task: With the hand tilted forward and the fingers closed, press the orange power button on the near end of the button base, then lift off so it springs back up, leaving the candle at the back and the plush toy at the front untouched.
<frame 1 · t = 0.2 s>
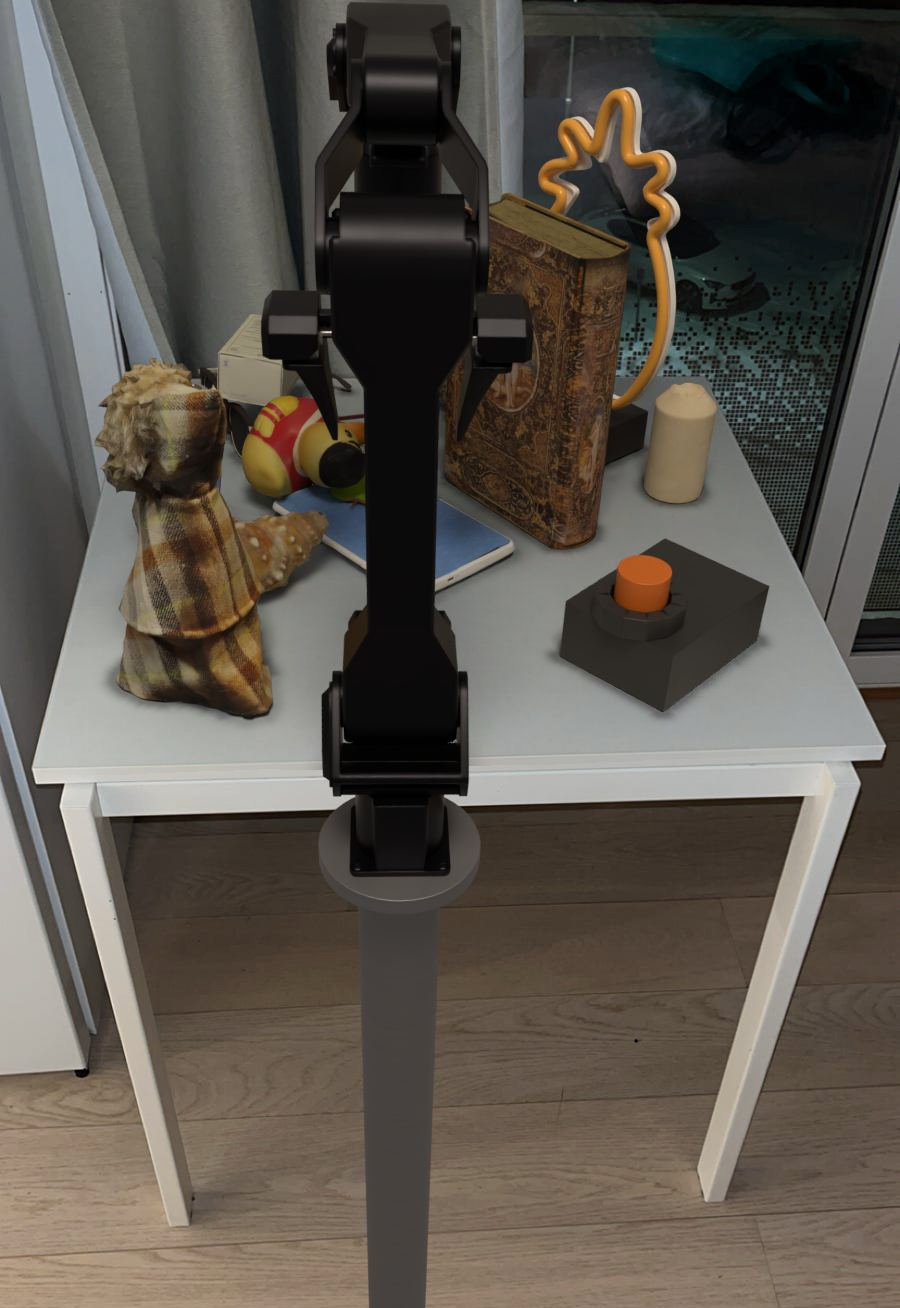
hand: (397, 438, 96), 15 cm above the table, tool pointing down, fingers open, 9 cm apart
fossil: (486, 351, 137), point 3 cm above the table
lamp: (580, 445, 127), on the table
power button: (642, 584, 95), point 8 cm above the table, slide at 0.1 cm
sunglasses: (301, 427, 129), on the table, touching cosmetic box
seashell: (258, 580, 108), on the table, touching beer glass
button base: (659, 648, 102), on the table
tablet: (391, 535, 114), on the table, touching decorative leaf, toy
toy: (276, 438, 117), point 5 cm above the table, touching decorative leaf, tablet
plush toy: (193, 675, 98), on the table
book: (522, 508, 118), on the table
decorative leaf: (370, 463, 114), point 4 cm above the table, touching tablet, toy
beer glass: (191, 563, 109), on the table, touching seashell
cosmetic box: (281, 338, 128), point 7 cm above the table, touching sunglasses
candle: (671, 491, 122), on the table
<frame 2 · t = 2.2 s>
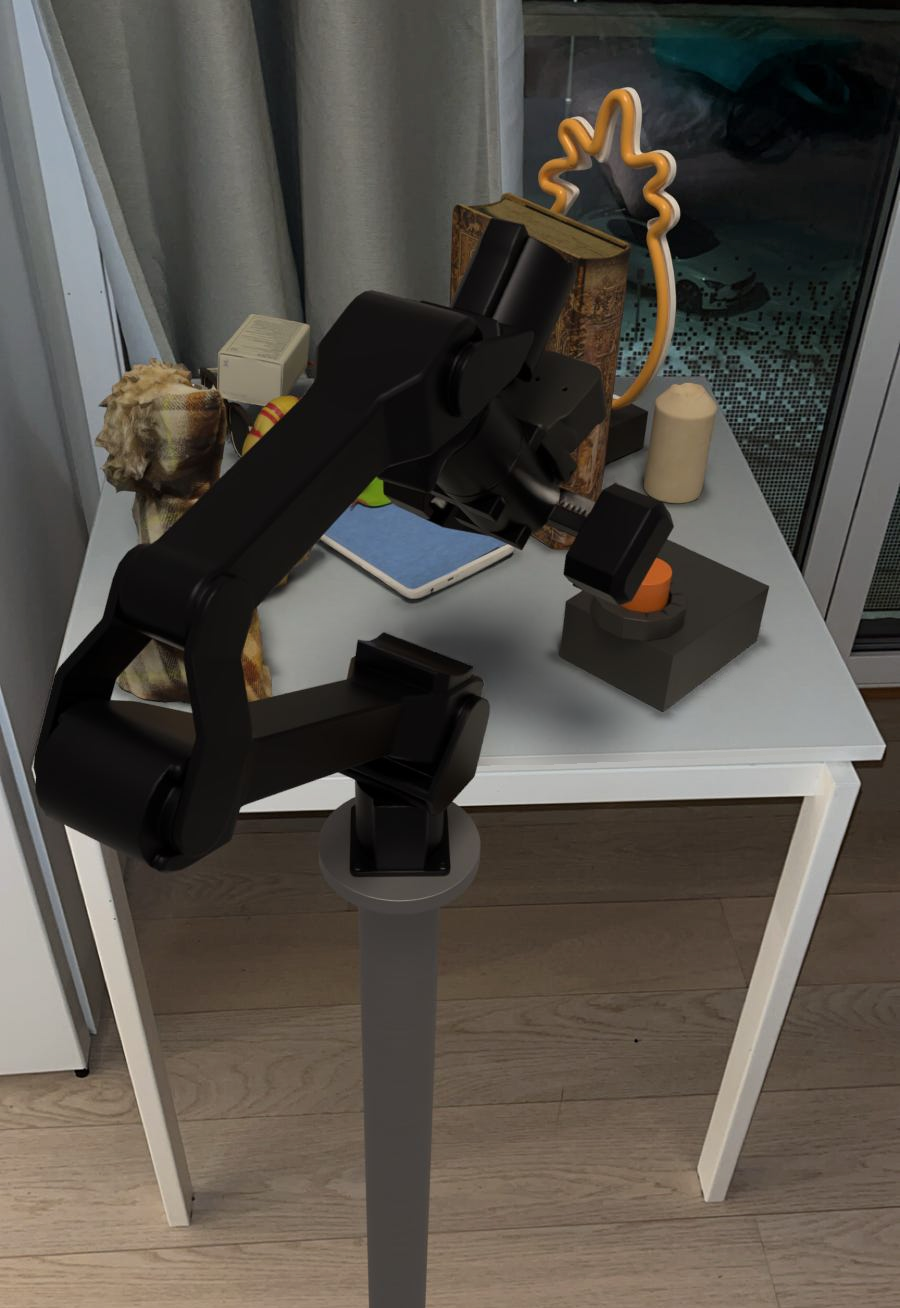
hand: (565, 555, 86), 14 cm above the table, tool tilted 40°, fingers open, 9 cm apart
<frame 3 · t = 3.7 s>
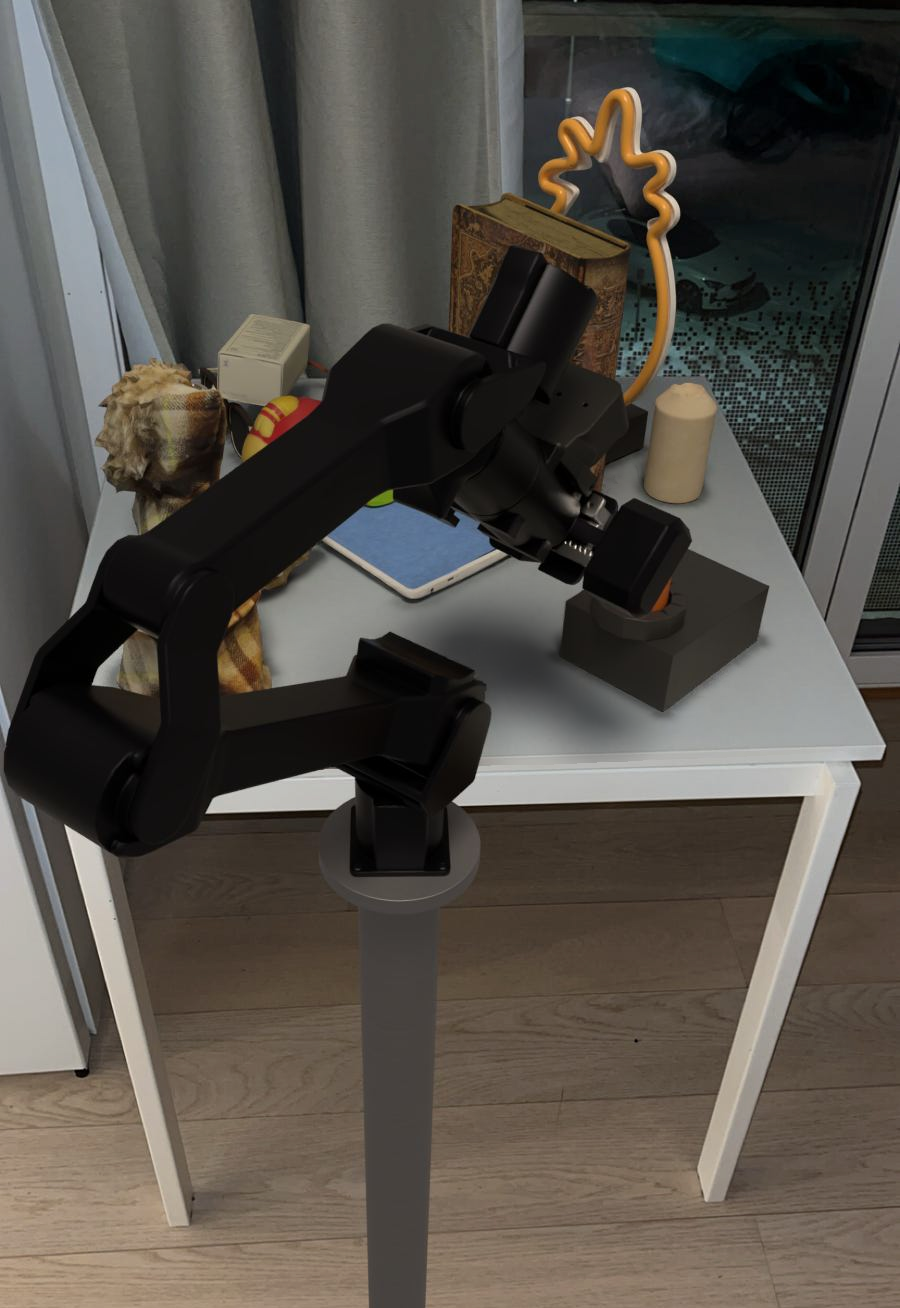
hand: (591, 560, 88), 13 cm above the table, tool tilted 45°, fingers closed
nothing on the table moved.
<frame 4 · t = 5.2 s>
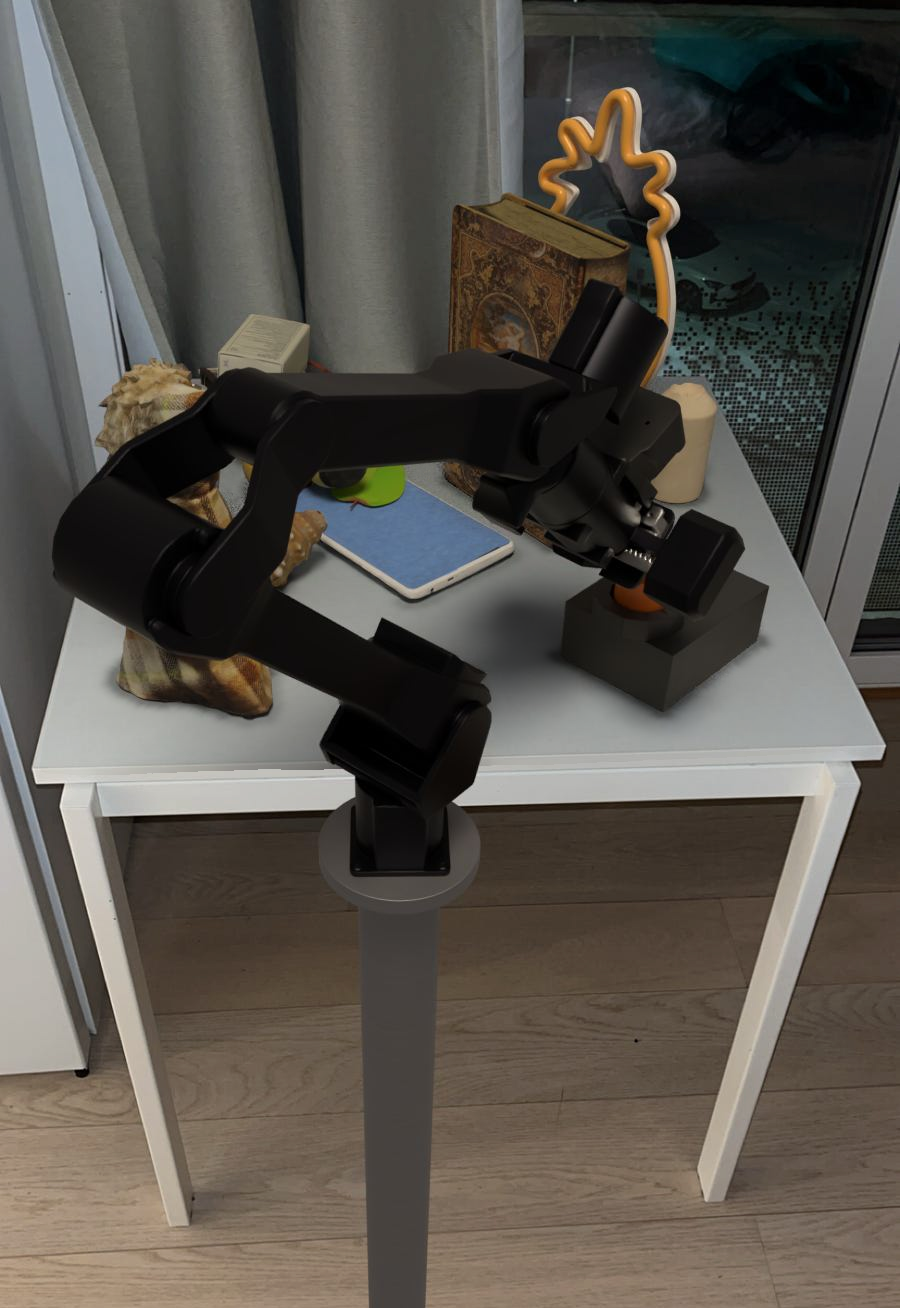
hand: (645, 566, 94), 9 cm above the table, tool tilted 45°, fingers closed, pressing on power button
power button: (642, 584, 95), point 8 cm above the table, slide at 0.1 cm, touching gripper
everything else where it was.
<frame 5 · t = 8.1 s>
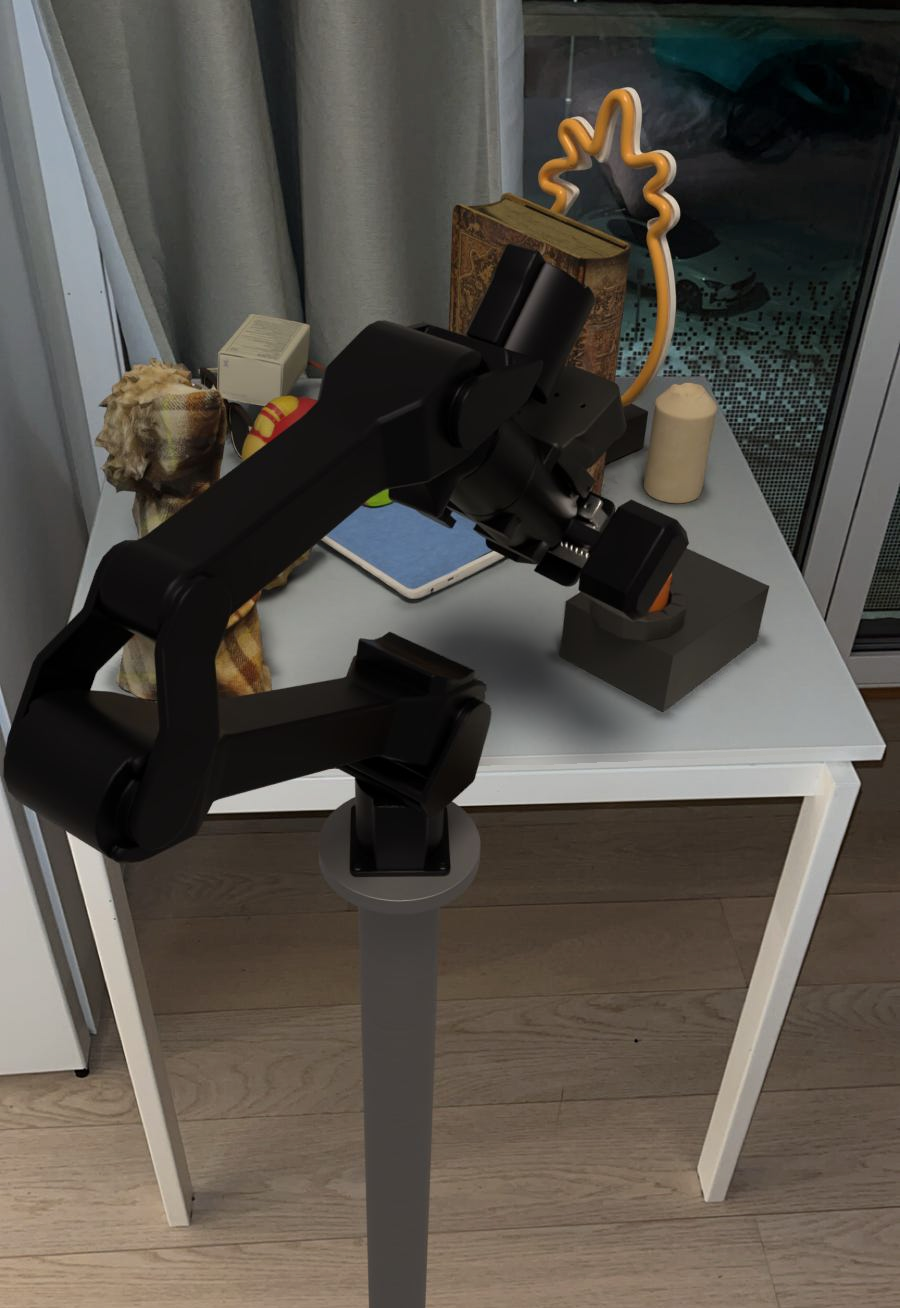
hand: (588, 563, 87), 13 cm above the table, tool tilted 45°, fingers closed
power button: (642, 584, 95), point 8 cm above the table, slide at 0.1 cm
everything else where it was.
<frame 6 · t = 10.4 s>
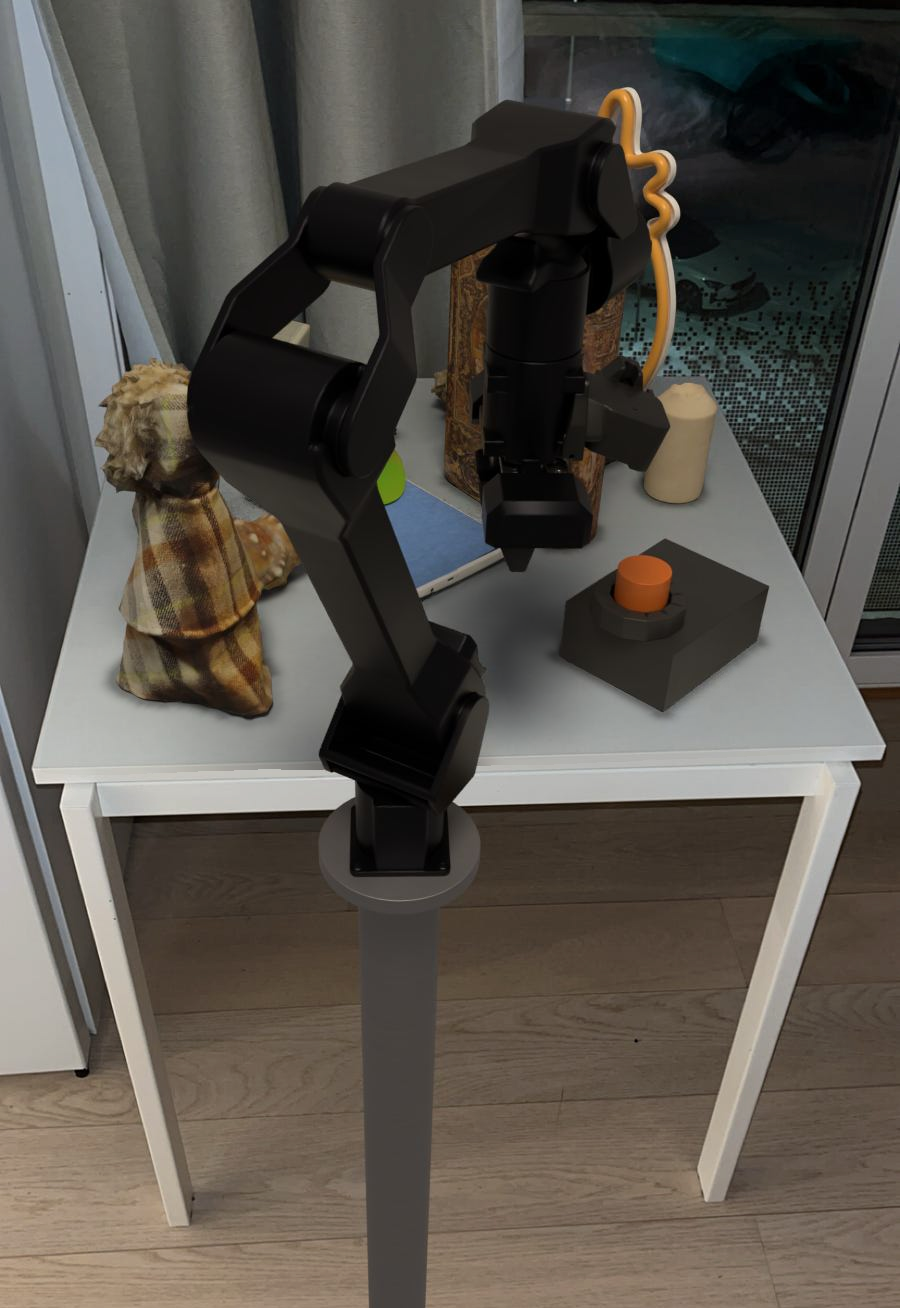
hand: (517, 569, 86), 13 cm above the table, tool pointing down, fingers closed
nothing on the table moved.
at the end: power button pushed in 1.3 cm at the most during the clip, back to where it started at the end; power button slide at 0.1 cm; candle touching table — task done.
